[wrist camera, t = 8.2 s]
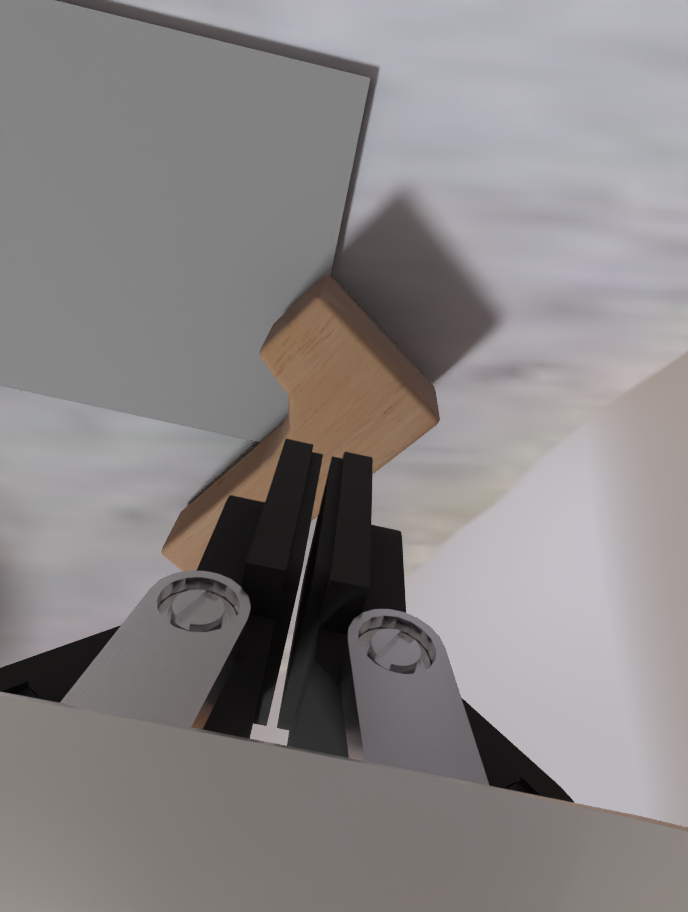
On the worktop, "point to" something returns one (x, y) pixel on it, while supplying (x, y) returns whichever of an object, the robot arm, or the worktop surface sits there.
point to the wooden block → (320, 406)
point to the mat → (161, 211)
